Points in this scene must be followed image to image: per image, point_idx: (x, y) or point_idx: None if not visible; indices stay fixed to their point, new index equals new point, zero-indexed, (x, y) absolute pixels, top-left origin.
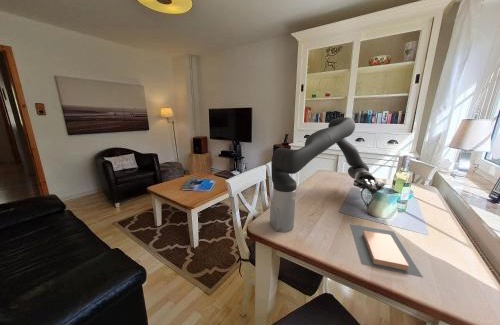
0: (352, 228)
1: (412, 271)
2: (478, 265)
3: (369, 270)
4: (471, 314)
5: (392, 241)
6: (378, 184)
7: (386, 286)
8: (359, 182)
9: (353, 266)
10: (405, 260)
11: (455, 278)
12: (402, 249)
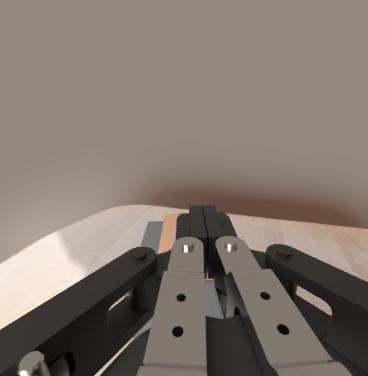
0: None
1: (157, 225)
2: (6, 264)
3: None
4: (129, 207)
5: (162, 249)
6: (114, 285)
7: None
8: (358, 280)
9: (237, 220)
10: (164, 219)
11: (96, 233)
12: None
